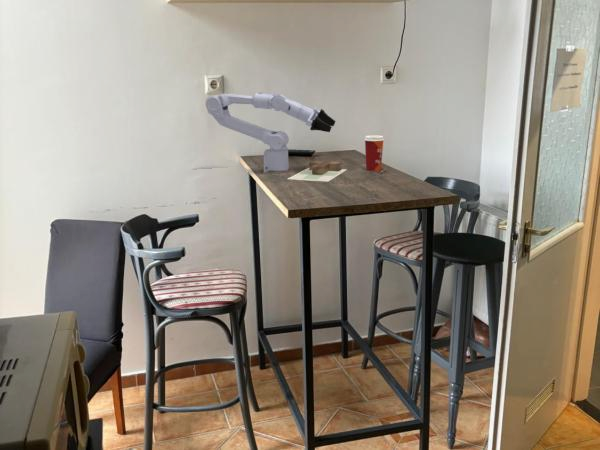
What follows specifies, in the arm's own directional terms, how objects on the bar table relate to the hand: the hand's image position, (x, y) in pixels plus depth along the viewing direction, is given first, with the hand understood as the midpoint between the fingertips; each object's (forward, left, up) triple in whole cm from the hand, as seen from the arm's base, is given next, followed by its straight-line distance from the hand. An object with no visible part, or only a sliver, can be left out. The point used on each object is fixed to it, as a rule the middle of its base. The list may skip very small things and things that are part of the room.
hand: (332, 126), depth 228 cm
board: (-3, -9, -18) cm, 20 cm away
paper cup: (+15, +6, -18) cm, 24 cm away
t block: (-3, -4, -17) cm, 18 cm away
